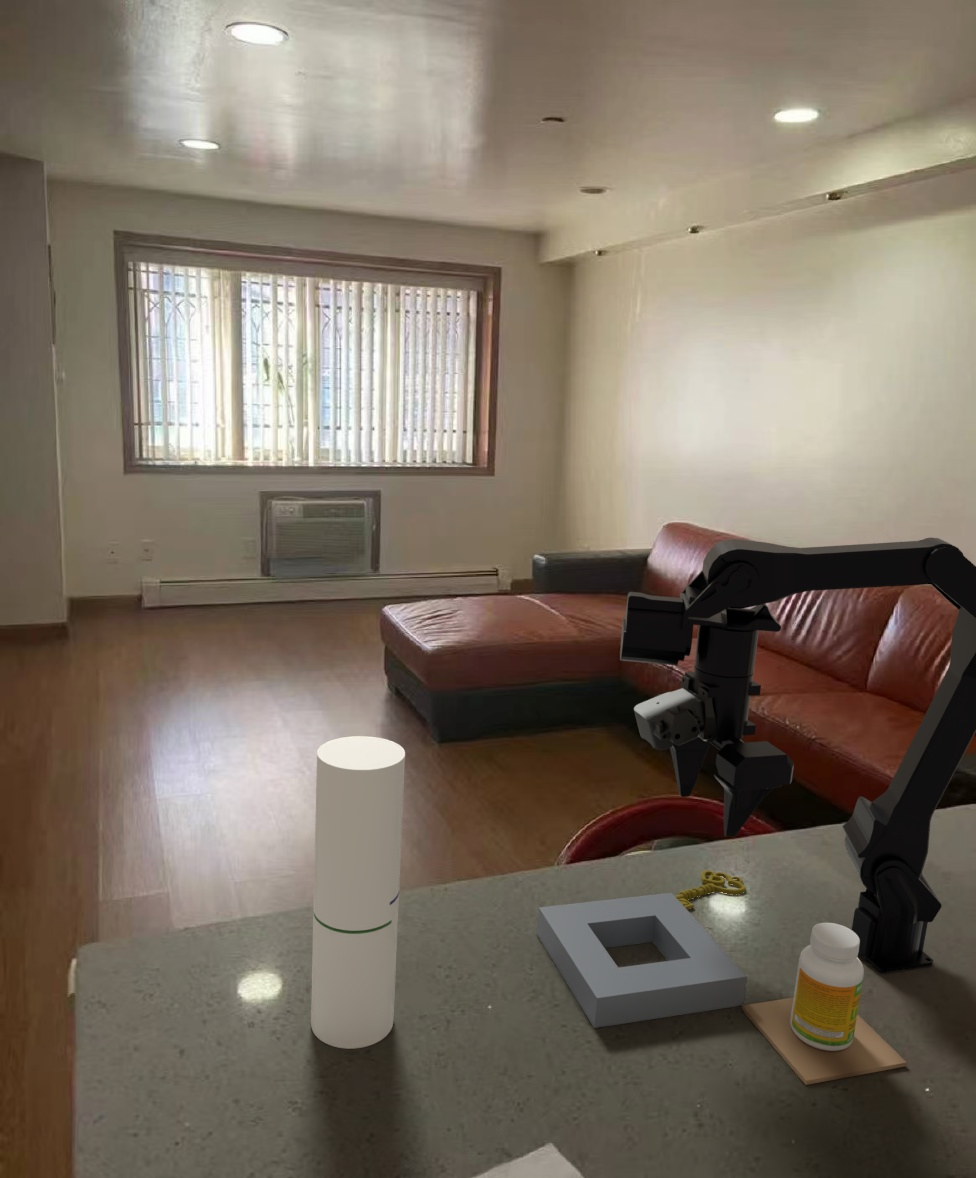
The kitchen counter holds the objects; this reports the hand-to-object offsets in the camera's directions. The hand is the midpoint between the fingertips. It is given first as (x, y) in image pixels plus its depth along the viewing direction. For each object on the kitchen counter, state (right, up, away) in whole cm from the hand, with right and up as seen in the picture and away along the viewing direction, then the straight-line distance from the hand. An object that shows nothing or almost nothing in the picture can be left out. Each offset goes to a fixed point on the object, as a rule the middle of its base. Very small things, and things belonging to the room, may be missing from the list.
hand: (706, 815), depth 100 cm
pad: (+7, -17, -13) cm, 22 cm away
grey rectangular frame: (-8, -14, -4) cm, 17 cm away
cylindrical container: (-34, -15, -14) cm, 40 cm away
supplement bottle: (+7, -17, -13) cm, 22 cm away
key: (+2, -12, +11) cm, 16 cm away
